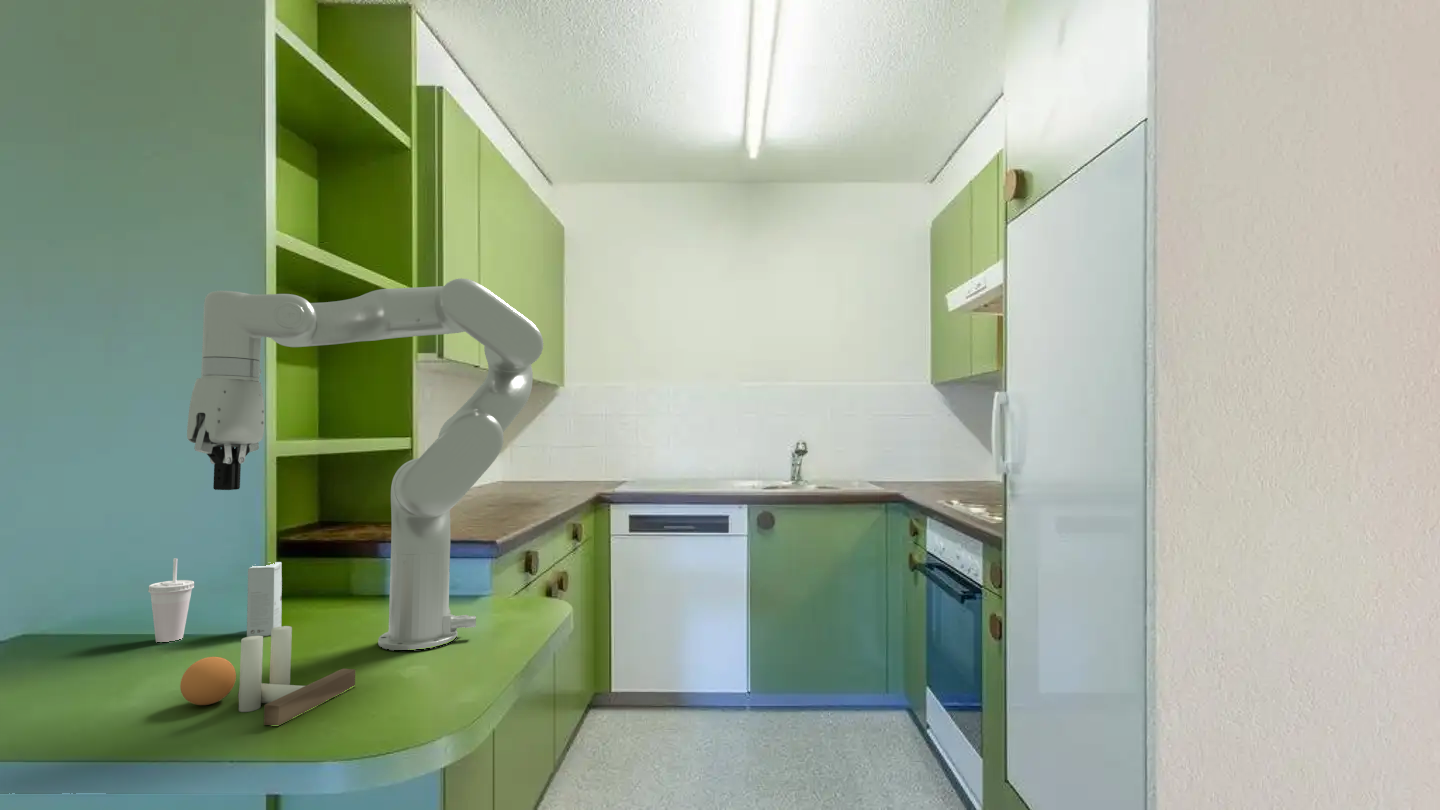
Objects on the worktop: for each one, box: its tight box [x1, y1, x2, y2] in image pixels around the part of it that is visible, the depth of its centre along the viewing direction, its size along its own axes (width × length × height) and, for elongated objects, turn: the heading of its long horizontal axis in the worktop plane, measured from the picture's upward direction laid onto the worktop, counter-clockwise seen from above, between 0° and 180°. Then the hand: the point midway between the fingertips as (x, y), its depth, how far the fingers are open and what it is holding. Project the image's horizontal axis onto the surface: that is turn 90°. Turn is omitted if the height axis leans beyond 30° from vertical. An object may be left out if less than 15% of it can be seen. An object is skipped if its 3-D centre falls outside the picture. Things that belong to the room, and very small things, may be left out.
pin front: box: [237, 682, 305, 704], centre depth 95 cm, size 2×2×9 cm
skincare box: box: [246, 561, 283, 637], centre depth 129 cm, size 6×4×12 cm
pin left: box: [238, 636, 264, 713], centre depth 93 cm, size 2×2×9 cm
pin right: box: [269, 625, 293, 685], centre depth 98 cm, size 2×2×9 cm
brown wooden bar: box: [263, 668, 356, 726], centre depth 94 cm, size 2×14×2 cm, turn 170°
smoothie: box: [147, 557, 195, 643], centre depth 124 cm, size 6×6×14 cm
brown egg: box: [179, 656, 237, 706], centre depth 94 cm, size 6×6×6 cm
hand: (226, 489), depth 111 cm, fingers closed
